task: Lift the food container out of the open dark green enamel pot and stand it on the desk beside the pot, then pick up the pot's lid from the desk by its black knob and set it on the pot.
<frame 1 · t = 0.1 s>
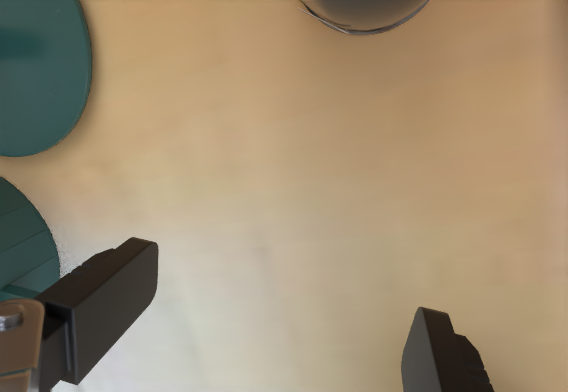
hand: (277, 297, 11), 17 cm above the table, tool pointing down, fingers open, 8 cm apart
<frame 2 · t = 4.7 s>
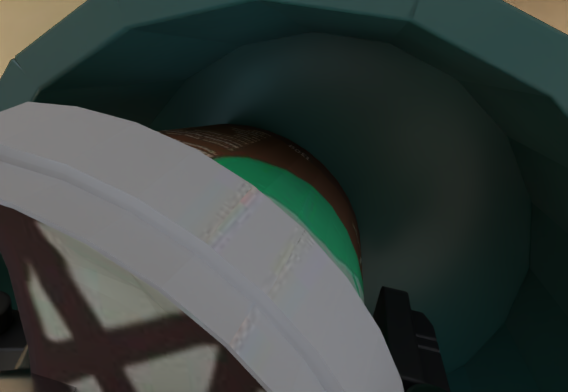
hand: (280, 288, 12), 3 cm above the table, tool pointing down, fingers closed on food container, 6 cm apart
food container: (310, 245, 15), resting on pot, touching gripper
pot: (310, 243, 15), on the table
when the fingers open (3 cm above the table, at t = 12.2 s): food container stays where it is, on the table.
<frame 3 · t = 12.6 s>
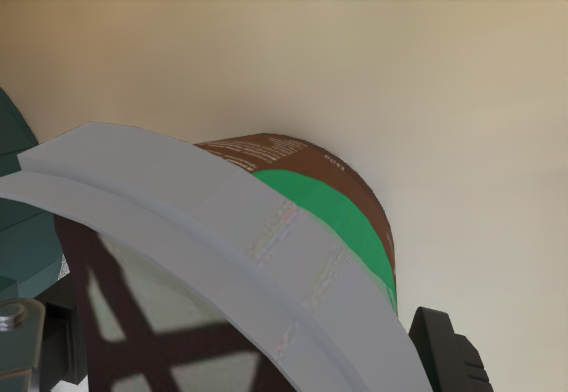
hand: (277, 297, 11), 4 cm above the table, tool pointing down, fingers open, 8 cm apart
food container: (344, 254, 15), on the table, touching gripper
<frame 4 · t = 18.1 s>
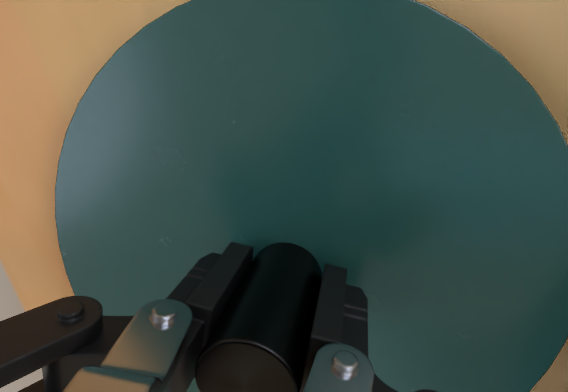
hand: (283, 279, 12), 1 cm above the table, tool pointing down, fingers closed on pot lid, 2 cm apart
pot lid: (289, 266, 13), point 1 cm above the table, touching gripper
when the fingers open (8 cm above the table, at t = 25.1 s): pot lid stays where it is, resting on pot.
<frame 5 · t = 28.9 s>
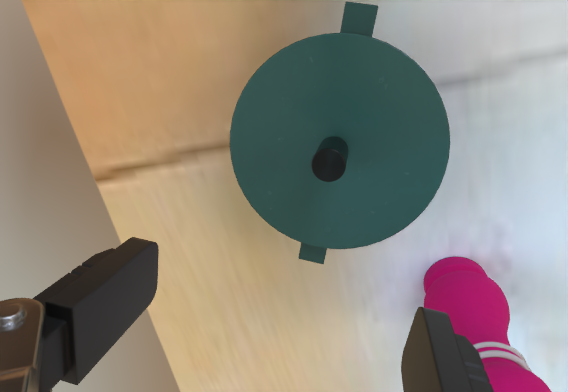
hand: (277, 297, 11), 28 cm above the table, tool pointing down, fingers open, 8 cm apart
pepper mill: (454, 281, 40), on the table
pot lid: (334, 149, 31), point 7 cm above the table, touching pot
pot: (338, 135, 37), on the table
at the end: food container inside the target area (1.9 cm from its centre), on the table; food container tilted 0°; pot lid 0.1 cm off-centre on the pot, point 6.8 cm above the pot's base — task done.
